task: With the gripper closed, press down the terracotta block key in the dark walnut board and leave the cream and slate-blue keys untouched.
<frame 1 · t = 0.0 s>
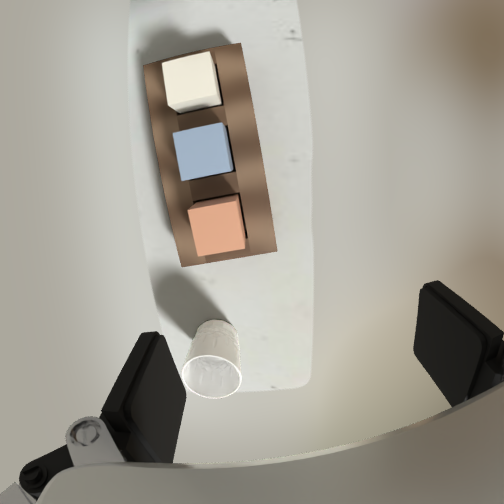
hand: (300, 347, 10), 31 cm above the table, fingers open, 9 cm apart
slate key: (205, 152, 31), point 7 cm above the table, slide at 0.0 cm
terracotta key: (219, 223, 33), point 7 cm above the table, slide at 0.0 cm
key board: (212, 153, 37), on the table
cream key: (193, 84, 28), point 7 cm above the table, slide at 0.0 cm
white cup: (217, 336, 46), on the table
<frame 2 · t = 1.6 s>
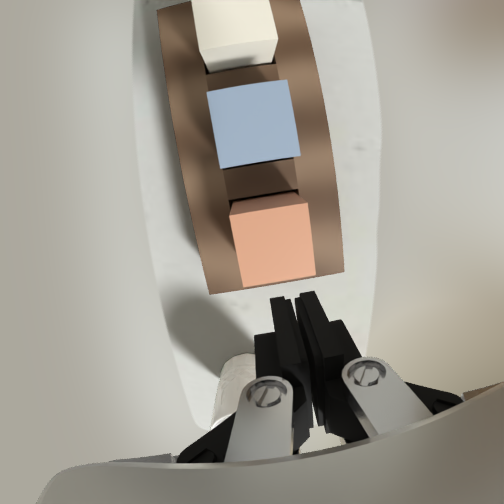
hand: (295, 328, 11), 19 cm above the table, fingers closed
slate key: (252, 126, 20), point 7 cm above the table, slide at 0.0 cm
terracotta key: (270, 234, 22), point 7 cm above the table, slide at 0.0 cm
key board: (251, 134, 26), on the table
cream key: (234, 29, 17), point 7 cm above the table, slide at 0.0 cm
white cup: (248, 372, 35), on the table
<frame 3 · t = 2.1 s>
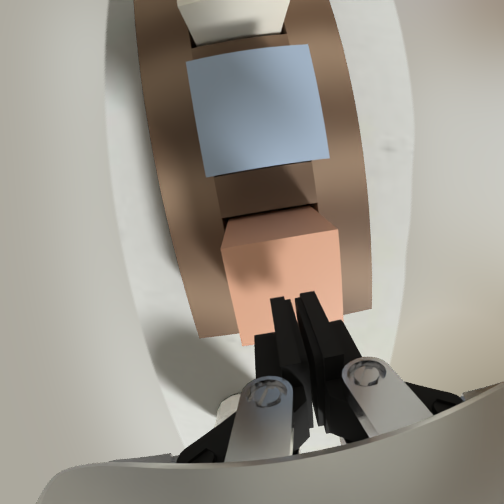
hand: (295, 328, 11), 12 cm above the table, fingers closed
slate key: (255, 115, 13), point 7 cm above the table, slide at 0.0 cm
terracotta key: (280, 267, 16), point 7 cm above the table, slide at 0.0 cm
key board: (252, 128, 20), on the table
white cup: (248, 410, 29), on the table
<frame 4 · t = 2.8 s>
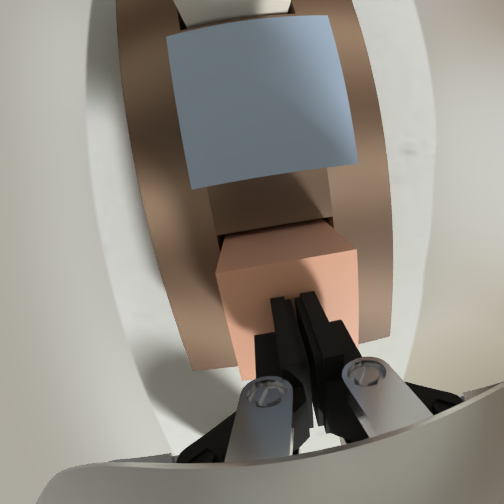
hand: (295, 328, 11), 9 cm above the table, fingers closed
slate key: (258, 107, 10), point 7 cm above the table, slide at 0.0 cm
terracotta key: (286, 289, 14), point 6 cm above the table, slide at 0.9 cm, touching gripper
key board: (254, 126, 17), on the table
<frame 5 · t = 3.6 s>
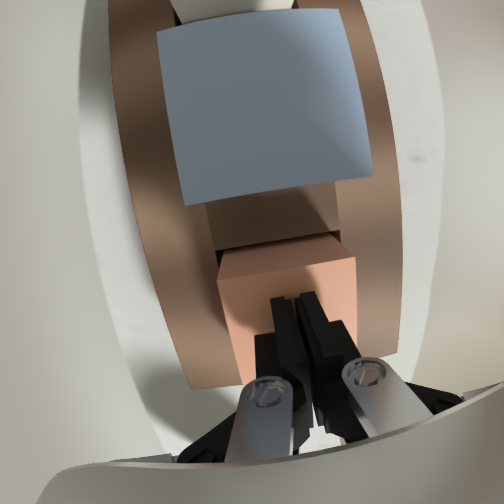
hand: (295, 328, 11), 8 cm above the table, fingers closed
slate key: (260, 111, 9), point 7 cm above the table, slide at 0.0 cm
terracotta key: (285, 295, 14), point 5 cm above the table, slide at 2.2 cm
key board: (254, 131, 16), on the table
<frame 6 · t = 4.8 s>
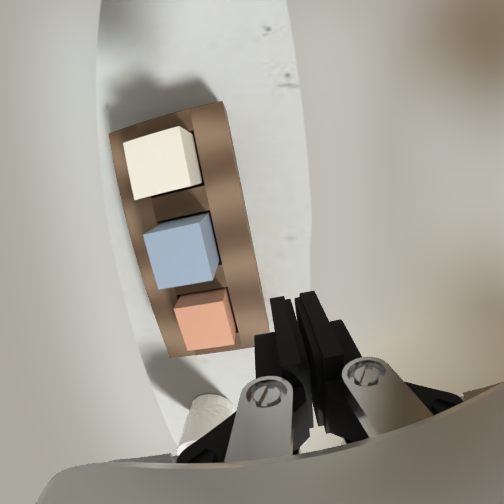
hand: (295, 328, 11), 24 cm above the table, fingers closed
slate key: (184, 248, 27), point 7 cm above the table, slide at 0.0 cm
terracotta key: (208, 313, 32), point 5 cm above the table, slide at 2.2 cm
key board: (197, 232, 34), on the table
cream key: (165, 163, 25), point 7 cm above the table, slide at 0.0 cm
white cup: (212, 407, 42), on the table
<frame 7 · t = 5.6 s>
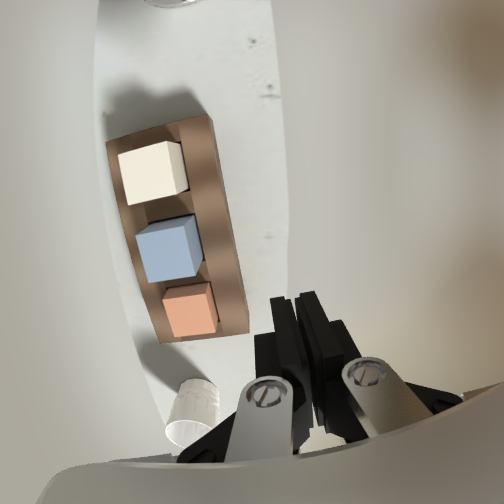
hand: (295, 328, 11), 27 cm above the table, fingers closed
slate key: (172, 246, 31), point 7 cm above the table, slide at 0.0 cm
terracotta key: (193, 304, 35), point 5 cm above the table, slide at 2.2 cm
key board: (185, 231, 37), on the table
cream key: (155, 172, 28), point 7 cm above the table, slide at 0.0 cm
white cup: (199, 391, 46), on the table
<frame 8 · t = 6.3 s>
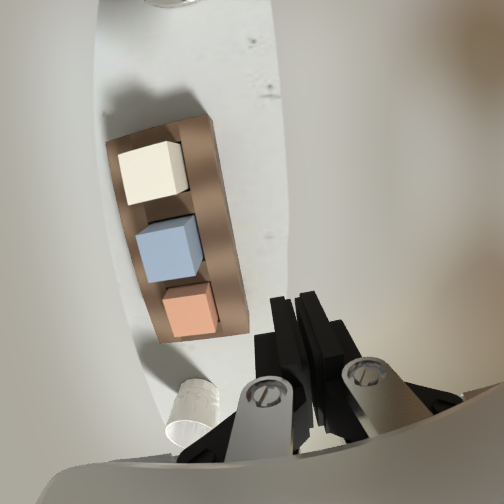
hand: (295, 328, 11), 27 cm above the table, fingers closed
slate key: (172, 246, 31), point 7 cm above the table, slide at 0.0 cm
terracotta key: (193, 304, 35), point 5 cm above the table, slide at 2.2 cm
key board: (185, 231, 37), on the table
cream key: (155, 172, 28), point 7 cm above the table, slide at 0.0 cm
white cup: (199, 391, 46), on the table
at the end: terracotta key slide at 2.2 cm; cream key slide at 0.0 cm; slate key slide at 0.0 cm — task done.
